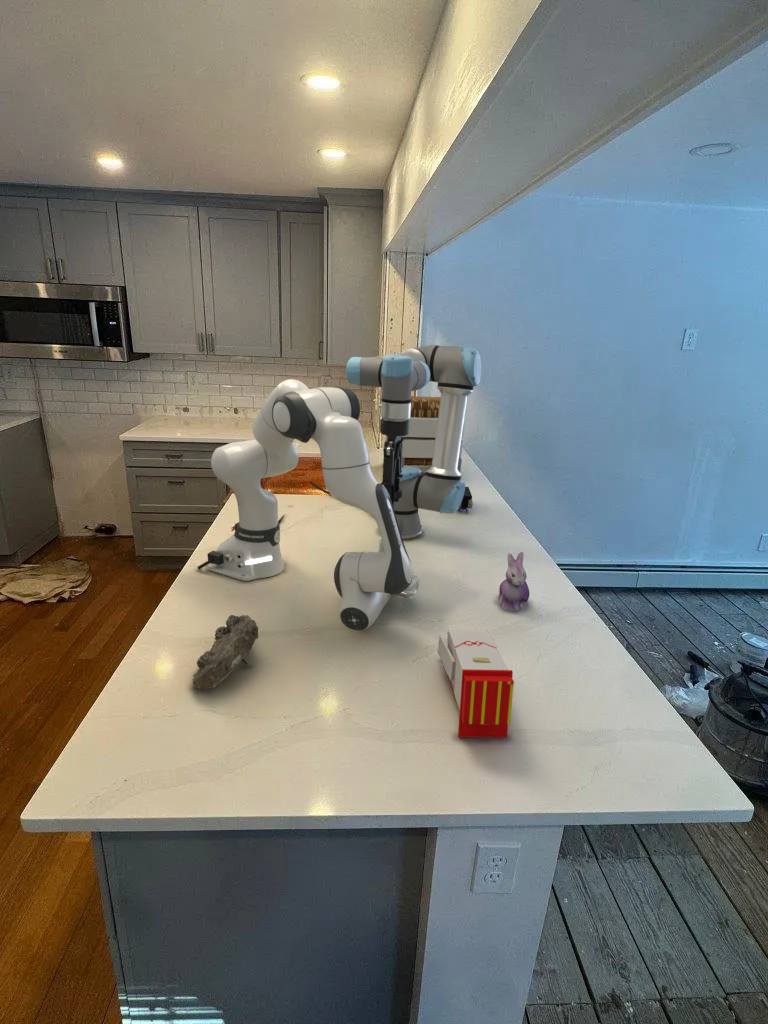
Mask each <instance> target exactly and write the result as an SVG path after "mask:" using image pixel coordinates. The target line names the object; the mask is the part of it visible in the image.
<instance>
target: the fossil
mask: <svg viewBox="0 0 768 1024" xmlns="http://www.w3.org/2000/svg"><path fill="white" fill-rule="evenodd" d="M258 639H259V627H258V625H257V622H256V621H255V619H252V618H251V617H250V616H249V615H248V614H244V615H243V614H242V615H240V616H238V615H235V614H230V615H228V617H227V620H226V621H225V626H224V625H223V626H219V627H217V628H216V629H215V631H214V642H213V644H212V645H211V648H210V649H209V650H207V651H205V652H204V653H203V654H201V655H200V656H199V657H198V659H197V661H196V666H197V668H198V670H197V671H196V672H195V673H193V675H192V676H193V678H192V683H193V688H195V689H198V690H200V691H203V690H207V689H211V688H212V689H214V688H216V687H217V686H218V685H219V684H220V683H221V682H222V681H224V680H225V679H226V678H227V677H228V676H229V675H230V674H231V673H232V672H233V671H234V670H236V668H237V667H238V664H239V663H241V662H242V663H243V664H244V665H245V666H248V665H249V664H248V662H247V661H246V659H244V658H245V656H246V655H247V654H249V653H250V652H251V650H252V649H253V646H254V645H255V643H256V641H257V640H258Z"/></svg>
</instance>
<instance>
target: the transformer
mask: <svg viewBox="0 0 768 1024" xmlns="http://www.w3.org/2000/svg"><path fill="white" fill-rule="evenodd" d="M440 399H441V396H415V395H414V396H413V395H411V410H410V418H408V420H409V421H410V424H409V434H408V435H406V436H401V438H403V439H404V441H403V449H402V468H403V467H405V466H406V467H417V466H418V467H431V466H432V460H433V452H434V445H435V437H436V429H437V422H438V414H439V406H440ZM464 422H465V419H464ZM464 429H465V423H464V424H463V431H462V438H461V445H460V453H459V460H458V467H457V469H458V471H459V473H460V474H461V475H462V473H461V472H462V461H463V460H462V453H463V442H464V441H463V440H462V439H463V438H464V431H465V430H464ZM387 438H388V437H387V436H386V435H385V438H384V442H383V448H384V447H385V441H387Z"/></svg>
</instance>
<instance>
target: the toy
mask: <svg viewBox="0 0 768 1024" xmlns="http://www.w3.org/2000/svg"><path fill="white" fill-rule="evenodd" d="M446 640H447V643H446V641H445V639H444V636H443V635H442V634H439V637H438V646H437V656H438V657H439V659H440V661H441V663H442V666H443V668H444V670H445V672H446V674H447V677H448V679H449V681H450V684H451V687H452V690H453V693H454V697H455V701H456V705H457V708H458V711H459V714H458V715H459V716H458V730H457V731H458V732H457V737H458V738H508V731H509V726H510V725H511V717H512V707H513V697H514V696H513V695H514V684H515V680H514V679H513V673H514V671H513V670H512V669H508V667H507V665H506V662H505V661H504V659H503V658H502V655H501V653H500V651H499V649H498V647H497V643H496V639H495V637H494V635H493V634H491V632H490V631H489V629H467V628H466V629H465V628H463V629H461V628H460V629H459V628H448V630H447V639H446Z"/></svg>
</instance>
